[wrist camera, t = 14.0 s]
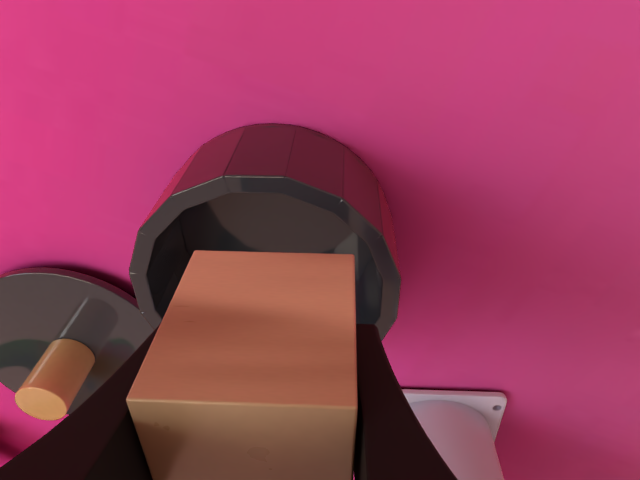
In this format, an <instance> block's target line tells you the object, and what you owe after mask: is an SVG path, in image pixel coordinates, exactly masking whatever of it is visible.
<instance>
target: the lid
mask: <svg viewBox="0 0 640 480" xmlns="http://www.w3.org/2000/svg"><path fill="white" fill-rule="evenodd" d="M153 331H154V329H153V328H152V327H151V325H150V324H149V323H148V322H147V320H146V319H145V318H144V317H143V316H142V314H141V312H140V311H139V307H138V303H137V300H136V299H135V298H134V297H132V296H131V295H129V294H128V293H126V292H124V291H123V290H121V289H119V288H118V287H116V286H114V285H111V284H109V283H107V282H105V281H103V280H100V279H98V278H95V277H92V276H89V275H86V274H82V273H79V272H75V271H70V270H64V269H59V268H46V267H39V268H25V269H18V270H14V271H10V272H7V273H4V274H2V275H0V382H1V383H2V384H3V385H5V386H6V387H8V388H9V389H11V390H12V391H13V392H15V393H16V394H15V402H16V404H17V405H18V407H19V408H20V409H21V410H22V411H24V412H25V413H26V414H28V415H30V416H32V417H35V418H38V419H42V420H58V419H60V418H62V417H64V416H65V415H66V414H68V415H70V414H71V413H72V412H73V411H74V410H76V409H77V408H78V407H79V406H80V405H81V404H82V403H83V402H84V401H85V400H87V399H88V398H89V397H90V396H91V395H92V394H93V393H94V392H95V391H96V390H97V389H98V388H99V387H100V386H101V385H102V384H103V383H105V382H106V381H107V380H108V379H109V378H110V377H111V376H112V375H113V374H114V373H115V371H116V370H117V369H118V368H119V367H120V366H121V365H122V364H123V363H124V362H125V361H126V360H127V359H128V358H129V357H130V356H131V355H132V354H133V353H134V352H135V351H136V350H137V348H138V347H139V346H140V345H141V344H142V343H143V342H144V341H145V340H146V339H147V338H148V336H149V335H150V334H151V333H152V332H153Z"/></svg>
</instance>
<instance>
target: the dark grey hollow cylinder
mask: <svg viewBox="0 0 640 480" xmlns="http://www.w3.org/2000/svg"><path fill="white" fill-rule="evenodd" d="M195 250H204V251H243V252H282V253H321V254H353V255H354V257H355V303H356V324H374V325H375V326H376V327H377V328H378V331H379V335H380V338H381V341H382V340H383V338H384V337H385V335H386V334H387V332H388V331H389V329H390V328H391V327H392V325H393V324H394V322H395V321H396V319H397V314H398V305H399V296H400V286H401V274H400V267H399V260H398V254H397V247H396V240H395V234H394V227H393V220H392V215H391V213H390V210H389V208H388V205H387V201H386V198H385V195H384V193H383V190H382V188H381V186H380V184H379V182H378V180H377V179H376V177H375V176H374V175H373V173H372V172H371V170H370V169H369V168H368V167H367V166H366V164H365V163H364V162H363V161H362V160H361V159H360V158H359V157H358V156H357V155H355V154H354V153H353V152H352V151H351V150H350V149H348V148H347V147H345V146H344V145H342V144H341V143H339V142H337V141H336V140H334V139H332V138H330V137H328V136H326V135H324V134H321V133H319V132H316V131H313V130H310V129H307V128H303V127H298V126H293V125H286V124H256V125H251V126H245V127H240V128H237V129H234V130H231V131H228V132H225V133H223V134H221V135H219V136H217V137H215V138H213V139H212V140H210V141H209V142H207V143H205V144H203V145H202V146H201V147H200V148H199V149H198V150H197V151H196V152H195V153H194V154H193V155H192V156H190V158H189V159H188V160H187V162H186V163H185V164H184V165H183V166H182V168H181V169H180V170H179V171H178V172H177V173H176V174H175V175H174V177H173V178H172V180H171V181H170V183H169V184H168V186H167V187H166V189H165V190H164V192H163V193H162V195H161V196H160V198H159V199H158V201H157V202H156V204H155V206H154V207H153V209H152V210H151V212H150V213H149V215H148V216H147V218H146V219H145V221H144V222H143V224H142V225H141V227H140V228H139V230H138V233H137V237H136V241H135V246H134V250H133V254H132V259H131V263H130V267H129V275H130V279H131V282H132V286H133V289H134V293H135V296H136V300H137V303H138V307H139V311H140V312H141V314H142V316H143V317H144V318H145V319H146V320H147V322H148V323H149V324H150V325H151V327H152V328H153V329H154V330H155V329H156V328H157V327H158V325H159V324H160V323H161V322H162V320H163V317H164V315H165V313H166V311H167V309H168V306H169V304H170V302H171V300H172V298H173V296H174V293H175V291H176V289H177V287H178V285H179V283H180V280H181V278H182V276H183V274H184V272H185V269H186V267H187V265H188V263H189V261H190V259H191V256H192V254H193V252H194V251H195Z"/></svg>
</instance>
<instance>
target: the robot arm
mask: <svg viewBox="0 0 640 480" xmlns="http://www.w3.org/2000/svg"><path fill="white" fill-rule="evenodd" d="M160 324H161V323H160ZM160 324H159V325H158V327H157V328H156V329H155V330H154V331H153V332H152V333H151V334H150V335H149V336H148V338H147V339H146V340H145V341H144V342H143V343H142V344H141V345H140V346H139V347H138V348H137V350H136V351H135V352H134V353H133V354H132V355H131V356H130V357H129V358H128V359H127V360H126V361H125V362H124V363H123V364H122V365H121V366H120V367H119V368H118V369H117V370H116V371H115V373H114V374H113V375H112V376H111V377H110V378H109V379H108V380H107V381H106V382H105V383H103V384H102V385H101V386H100V387H99V388H98V389H97V390H96V391H95V392H94V393H93V394H92V395H91V396H90V397H89V398H88V399H87V400H85V401H84V402H83V403H82V404H81V405H80V406H79V407H78V408H77V409H76V410H74V411H73V412H72V413H71V414H70V415H69V416H67V417H66V418H65V419H64V420H63V421H62V422H60V423H59V424H58V425H57V426H55V427H54V428H53V429H52V430H51V431H49V432H48V433H47V434H46V435H44V436H43V437H42V438H40V439H39V440H38V441H36V442H35V443H34V444H32V445H31V446H30V447H28V448H27V449H25V450H24V451H23V452H21V453H20V454H19V455H17V456H16V457H14V458H13V459H12V460H10V461H9V462H8V463H6V464H5V465H3V466H2V467H0V480H153V479H152V476H151V473H150V470H149V467H148V464H147V461H146V458H145V455H144V452H143V449H142V446H141V443H140V440H139V437H138V434H137V431H136V429H135V426H134V423H133V420H132V417H131V414H130V411H129V408H128V405H127V402H126V398H127V396H128V393H129V391H130V389H131V387H132V385H133V383H134V380H135V378H136V376H137V374H138V372H139V370H140V367H141V365H142V363H143V361H144V359H145V356H146V354H147V352H148V350H149V348H150V346H151V343H152V341H153V339H154V337H155V335H156V333H157V330H158V328H159V326H160ZM356 350H357V398H358V411H357V427H356V443H355V458H354V477H355V480H504V477H503V473H502V470H501V466H500V463H499V459H498V456H497V452H496V448H495V445H494V441H495V438H496V435H497V432H498V429H499V426H500V423H501V419H502V416H503V413H504V410H505V407H506V404H507V399H506V396H505V394H503V393H501V392H479V391H448V390H418V389H401V387H400V385H399V383H398V381H397V379H396V377H395V375H394V372H393V370H392V368H391V366H390V363H389V361H388V358H387V356H386V353H385V350H384V348H383V345H382V342H381V338H380V335H379V331H378V328H377V327H376V326H375V325H374V324H356Z"/></svg>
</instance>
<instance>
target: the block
mask: <svg viewBox="0 0 640 480" xmlns="http://www.w3.org/2000/svg"><path fill="white" fill-rule="evenodd" d="M126 402H127V405H128V408H129V411H130V414H131V417H132V420H133V423H134V426H135V429H136V431H137V434H138V437H139V440H140V443H141V446H142V449H143V452H144V455H145V458H146V461H147V464H148V467H149V470H150V473H151V476H152V479H153V480H353V474H354V458H355V443H356V427H357V411H358V398H357V350H356V303H355V257H354V255H353V254H321V253H282V252H243V251H204V250H195V251H194V252H193V254H192V256H191V259H190V261H189V263H188V265H187V267H186V269H185V272H184V274H183V276H182V278H181V280H180V283H179V285H178V287H177V289H176V291H175V293H174V296H173V298H172V300H171V302H170V304H169V306H168V309H167V311H166V313H165V315H164V317H163V320H162V322H161V324H160V326H159V328H158V330H157V333H156V335H155V337H154V339H153V341H152V343H151V346H150V348H149V350H148V352H147V354H146V356H145V359H144V361H143V363H142V365H141V367H140V370H139V372H138V374H137V376H136V378H135V380H134V383H133V385H132V387H131V389H130V391H129V393H128V396H127V398H126Z"/></svg>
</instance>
